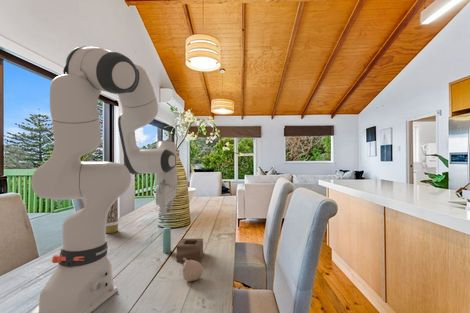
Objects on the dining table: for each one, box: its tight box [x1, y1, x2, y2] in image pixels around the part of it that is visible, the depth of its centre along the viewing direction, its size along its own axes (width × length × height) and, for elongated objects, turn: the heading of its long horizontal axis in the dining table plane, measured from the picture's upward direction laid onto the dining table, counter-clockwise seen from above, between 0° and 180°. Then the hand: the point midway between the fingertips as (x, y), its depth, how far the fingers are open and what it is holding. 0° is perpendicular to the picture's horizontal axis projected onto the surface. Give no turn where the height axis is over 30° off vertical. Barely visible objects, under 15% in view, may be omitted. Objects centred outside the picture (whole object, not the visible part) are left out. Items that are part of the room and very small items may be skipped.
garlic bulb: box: [182, 258, 204, 282], centre depth 84 cm, size 7×6×8 cm
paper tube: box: [106, 198, 119, 234], centre depth 139 cm, size 7×7×25 cm
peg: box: [162, 226, 172, 254], centre depth 109 cm, size 3×3×10 cm
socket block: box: [176, 238, 204, 263], centre depth 103 cm, size 9×9×6 cm
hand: (167, 211), depth 109 cm, fingers open, 8 cm apart
